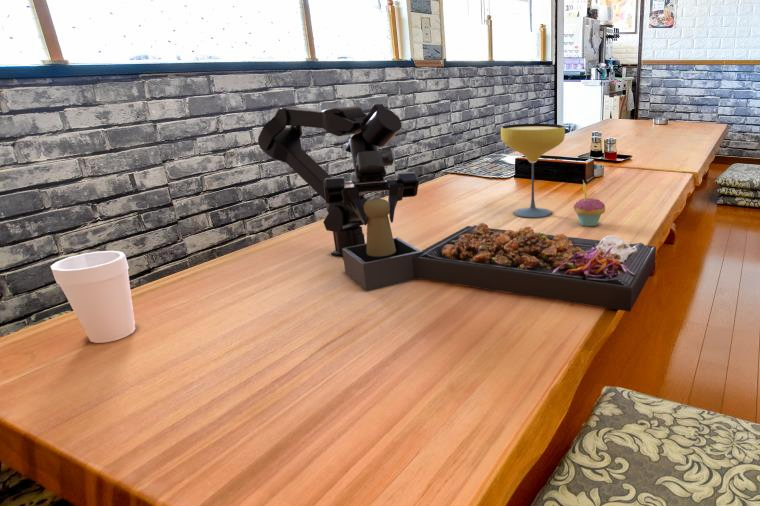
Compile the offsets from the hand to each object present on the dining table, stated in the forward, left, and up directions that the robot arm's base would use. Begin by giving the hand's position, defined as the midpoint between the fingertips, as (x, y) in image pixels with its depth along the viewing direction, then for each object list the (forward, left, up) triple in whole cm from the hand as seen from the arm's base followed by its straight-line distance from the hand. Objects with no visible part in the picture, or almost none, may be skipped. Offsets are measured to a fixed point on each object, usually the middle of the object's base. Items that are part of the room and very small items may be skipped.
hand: (378, 222), depth 106 cm
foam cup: (-26, -39, -12) cm, 48 cm away
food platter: (+28, +14, -11) cm, 33 cm away
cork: (-1, +1, -7) cm, 7 cm away
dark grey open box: (-1, +1, -12) cm, 12 cm away
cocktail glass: (+8, +60, -12) cm, 62 cm away
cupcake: (+27, +55, -12) cm, 62 cm away
